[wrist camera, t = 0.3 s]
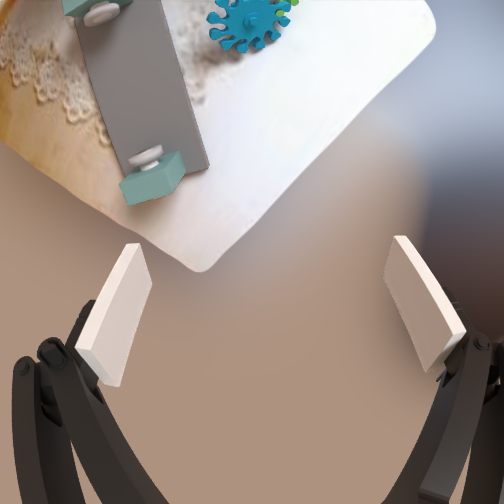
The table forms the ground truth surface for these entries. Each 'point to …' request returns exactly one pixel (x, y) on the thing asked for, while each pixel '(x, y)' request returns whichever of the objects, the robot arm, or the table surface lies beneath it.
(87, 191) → the table surface
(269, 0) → the gear
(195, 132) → the shaft stand
